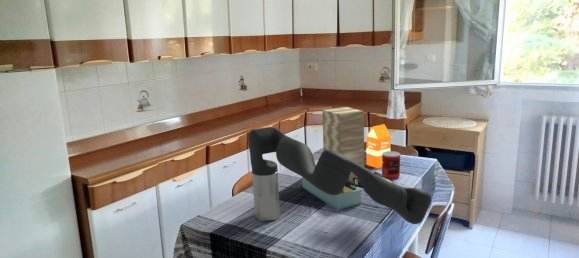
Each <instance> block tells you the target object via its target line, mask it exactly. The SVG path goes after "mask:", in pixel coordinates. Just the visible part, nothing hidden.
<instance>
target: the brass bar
mask: <svg viewBox="0 0 579 258" xmlns="http://www.w3.org/2000/svg"><path fill="white" fill-rule="evenodd" d="M351 191H353V190H352V189H350V188H348V187H345V186H344V188H343V190H342V192H341V193H347V192H351Z"/></svg>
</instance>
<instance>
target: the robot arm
mask: <svg viewBox="0 0 579 258" xmlns="http://www.w3.org/2000/svg"><path fill="white" fill-rule="evenodd" d="M247 140H248V149H249V157H250V166H251V174H252V176H251V177H252V189H253V191H252V192H253V204H254V205H253V206H254V216H255V217H254V218H255V219H257V220H258V221H259V222H268V221H269V222H270V221H277V220H278V218H279V217H280V216H281V212H280V211H281V210H280V193H279V191H280V190H279V174H278V173H279V171H278V164H277V163H276V162H275V161H273V160H269V159H264V157H263V155H266V154H271V153H275V156H276V159H277V162H278V163H279V164H280V165H281V166H282V167H284V168H285V169H288V170H289V171H291V172H292V173H295V174H297V175H298V176H300V177H301V178H302V177H303V178H304V179H306V180H307V181H308V182H310V183H311V184H312V185H313V186H315V187H316V188H318V189H319V190H321V191H323V192H325V193H327V194H329V195H339V194H340V193H341V192H342V190H343V188H344V186H345V187H348V188H350V189H352V190H356V188H358V189H363V191H364V192H365V193H366V194H367V195H368V197H370V199H371V200H372V201H374V202H375V203H377V204H379V205H381V206H384V207H386V208H389V209H391V210H392V211H394V212H396V213H397V214H398V215H399V216H400V217H401V218H403V220H404V221H406V222H408V223H409V224H412V225H419V224H420V223H422V222H423V221H424V219H425V216H426V214H427V211H428V209H429V207H430V205H431V202H432V197H431V194H430V193H429V192H428V191H426V190H424V189H423V188H416V187H404V186H401V185H399V184H397V183H396V182H395V183H394V182H393V181H391V179H386V178H385V176H384V175H382V173H380V172H378V171H371V170H370V169H368V168H367V167H365V166H364V167H363V166H362V165H360V164H358V163H357V162H355V161H353V160H351V159H350V158H348V157H346V156H344V155H342V154H340V153H337V152H335V151H331V150H323V151H322V152H321V153H320V155H319V158H318V160H317V162H315V157H314V155H313V152H312V150H311V149H310V147H309V146H308V145H307V144H305V143H303V142H301V141H300V140H296V139H294V138H292V137H290V136H288V135H286V134H285V133H283V132H282V131H280V130H279V129H278V128H276V127H274V126H267V127H260V128H255V129H254V128H253V129H251V130H250V131H249V132H248V138H247ZM351 172H352V173H353V174H355V175H356V176H354V177H349V175H350V173H351ZM356 179H358V183H356ZM351 180H353V181H351Z"/></svg>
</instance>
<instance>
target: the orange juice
mask: <svg viewBox="0 0 579 258" xmlns="http://www.w3.org/2000/svg"><path fill="white" fill-rule="evenodd" d="M365 149H366V151H365V152H366V166H369V167H373V168H376V169H379V168H382V153H383V152H386V151H391V135H390V132H389V130H388V128H387V126H386V125H385V123H383V124H379V125H378V124H377V125H375V126H372V127H371V128H370V130H369V131H368V133H367V135H366V148H365Z"/></svg>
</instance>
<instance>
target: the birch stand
mask: <svg viewBox="0 0 579 258" xmlns="http://www.w3.org/2000/svg"><path fill="white" fill-rule="evenodd" d="M322 140H323V142H322V146H323V147H322V148H323V151H324V150H331V151H335V152H337V153H340V154H342V155H344V156H346V157H348V158H350V159H351V160H353V161H355V162H357V163H358V164H360V165H362V166H363V167H365V110H361V109H356V108H352V107H349V106H340V107H333V108H325V109H322ZM354 176H356V175H355V174H353V173H352V172H351V173H350V175H349V177H354ZM351 181H353V180H351ZM356 183H358V179H356Z"/></svg>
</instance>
